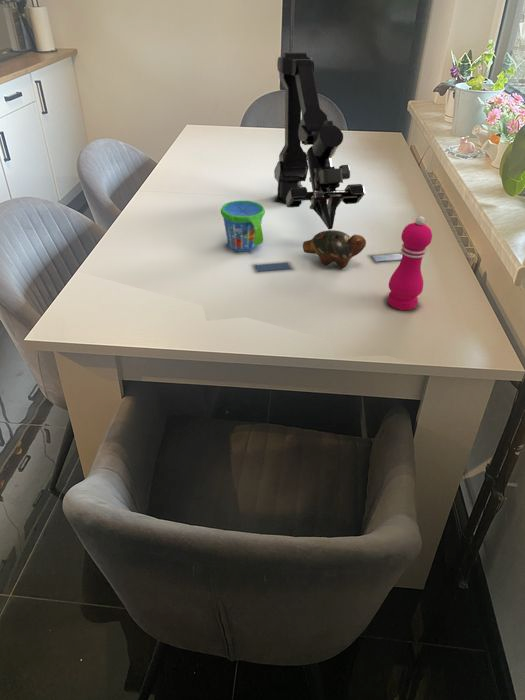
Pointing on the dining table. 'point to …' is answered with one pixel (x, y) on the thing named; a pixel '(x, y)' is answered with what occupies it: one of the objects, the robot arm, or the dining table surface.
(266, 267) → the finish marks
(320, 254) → the decorative turtle
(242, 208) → the snack cup
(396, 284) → the pepper mill
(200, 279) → the dining table surface
